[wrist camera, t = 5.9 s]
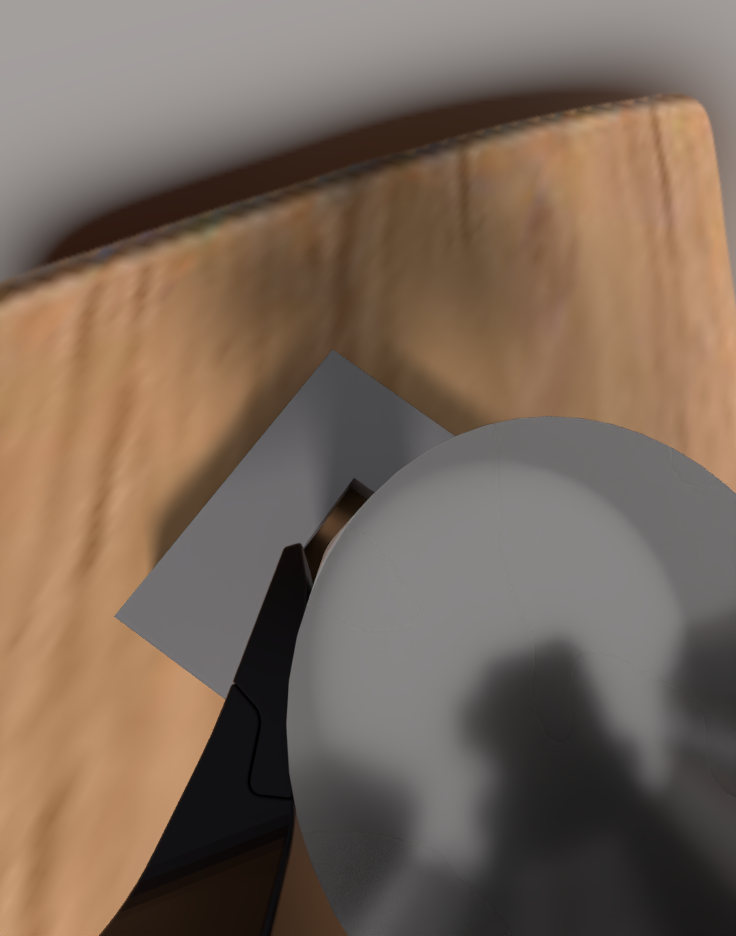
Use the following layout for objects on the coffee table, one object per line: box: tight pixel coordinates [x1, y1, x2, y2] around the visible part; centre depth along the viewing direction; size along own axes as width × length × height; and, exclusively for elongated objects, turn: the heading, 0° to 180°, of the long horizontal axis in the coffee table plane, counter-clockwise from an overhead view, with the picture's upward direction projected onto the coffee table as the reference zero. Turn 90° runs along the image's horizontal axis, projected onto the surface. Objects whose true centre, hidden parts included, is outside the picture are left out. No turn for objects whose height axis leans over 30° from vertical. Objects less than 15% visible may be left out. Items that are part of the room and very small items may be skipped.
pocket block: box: [114, 350, 454, 699], centre depth 18 cm, size 14×14×3 cm
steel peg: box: [286, 416, 736, 936], centre depth 9 cm, size 4×4×14 cm
